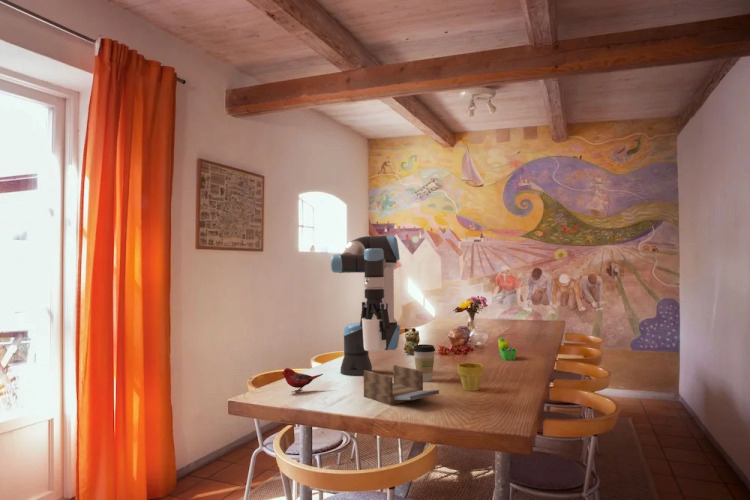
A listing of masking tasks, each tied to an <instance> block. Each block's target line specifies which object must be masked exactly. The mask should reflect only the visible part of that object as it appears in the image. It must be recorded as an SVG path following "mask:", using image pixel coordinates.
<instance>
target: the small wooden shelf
mask: <svg viewBox="0 0 750 500" xmlns="http://www.w3.org/2000/svg"><path fill="white" fill-rule="evenodd" d="M423 390H424V382H423V371H419V370H416V368H410V367H406V366H405V367H404V366H400V365H397V364H395V365H393V376H390V375H387V374H383V373H377V372H374V371H372V372H371V371H367V370H365V371H364V375H363V398H367V399H370V400H373V401H375V402H378V403H383V404H385V405H388V406H394V405H398V404H402V403H405V402H411V401H412V400H394V396H398V395H403V394H407V393H412V392H416V391H423Z"/></svg>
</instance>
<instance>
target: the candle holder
mask: <svg viewBox="0 0 750 500" xmlns="http://www.w3.org/2000/svg"><path fill="white" fill-rule="evenodd" d="M379 321H382V319H380V320H377V317H376V316H373V317H372V320H367V319H365V318H362V328H363V343H364V350H366V351H368V352H382V351H386V350H385V349H386V348H384V349H379V330H380V327H379Z"/></svg>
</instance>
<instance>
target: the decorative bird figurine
mask: <svg viewBox="0 0 750 500" xmlns="http://www.w3.org/2000/svg"><path fill="white" fill-rule="evenodd" d="M280 375H283V377H284V378H285V381H286V383H287V385H289V386H290V387H292V388H295V389H296V390H291V391H290V392H292V393H294V392H295V393H298V392H302V391H305V390H304V387H305V386H308V385H309V384H311V383H312V381H313V380H315V379H317V378H320V377H322V376H323V375H324V373H321V374H315V375H313V376H311V375H310V374H305V373H300V372H296V371H295V370H294V369H292V368H289V367H286V368H284V369H283V371H282V372H281V374H280Z"/></svg>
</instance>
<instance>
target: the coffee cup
mask: <svg viewBox="0 0 750 500" xmlns="http://www.w3.org/2000/svg"><path fill="white" fill-rule="evenodd" d="M413 351H414V355H413V357H414V364H415V370H419V371H423V383H428V382H432V381H433V373H434V372H433V371H434V363H435V351H436V348H435V346H434V345H432V344H426V343H423V344H418V345H415V346H414V349H413Z"/></svg>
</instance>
